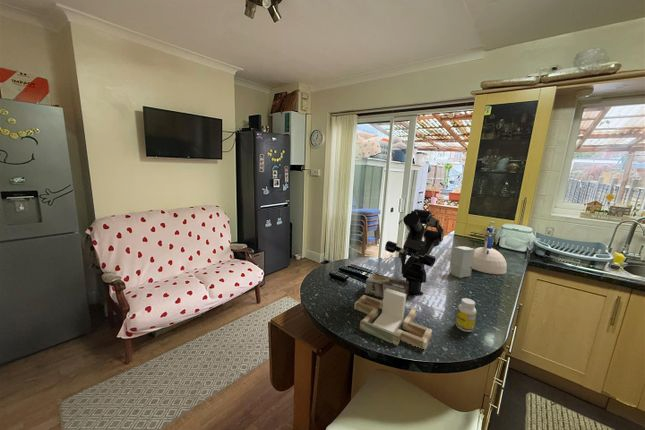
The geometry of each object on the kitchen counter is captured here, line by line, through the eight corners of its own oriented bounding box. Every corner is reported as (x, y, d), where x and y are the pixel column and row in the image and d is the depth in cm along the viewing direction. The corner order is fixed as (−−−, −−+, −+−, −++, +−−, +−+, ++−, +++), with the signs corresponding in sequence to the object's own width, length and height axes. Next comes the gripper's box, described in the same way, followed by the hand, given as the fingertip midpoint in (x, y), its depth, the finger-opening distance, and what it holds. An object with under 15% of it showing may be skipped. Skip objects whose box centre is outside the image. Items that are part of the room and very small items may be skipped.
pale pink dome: (505, 266, 150) (510, 236, 146) (507, 278, 132) (514, 244, 129) (465, 258, 160) (470, 230, 157) (463, 268, 143) (468, 237, 140)
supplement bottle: (452, 322, 89) (456, 296, 88) (466, 322, 90) (470, 296, 88) (461, 332, 84) (466, 305, 82) (477, 332, 85) (481, 305, 83)
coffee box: (364, 293, 107) (403, 304, 100) (365, 279, 106) (405, 289, 99) (371, 286, 115) (408, 295, 108) (372, 272, 114) (410, 281, 107)
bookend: (384, 313, 93) (386, 288, 91) (403, 320, 89) (406, 294, 88) (371, 328, 84) (374, 300, 82) (392, 336, 80) (395, 307, 79)
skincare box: (459, 278, 129) (464, 250, 126) (449, 273, 134) (453, 246, 131) (471, 276, 132) (475, 248, 129) (460, 271, 137) (465, 245, 135)
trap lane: (366, 297, 104) (367, 290, 104) (437, 322, 89) (438, 314, 89) (340, 321, 87) (341, 313, 87) (422, 356, 72) (423, 347, 72)
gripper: (392, 222, 98) (378, 259, 93) (443, 238, 92) (431, 279, 87) (391, 232, 108) (378, 266, 103) (437, 247, 102) (426, 284, 97)
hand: (402, 273), depth 97 cm, fingers closed
